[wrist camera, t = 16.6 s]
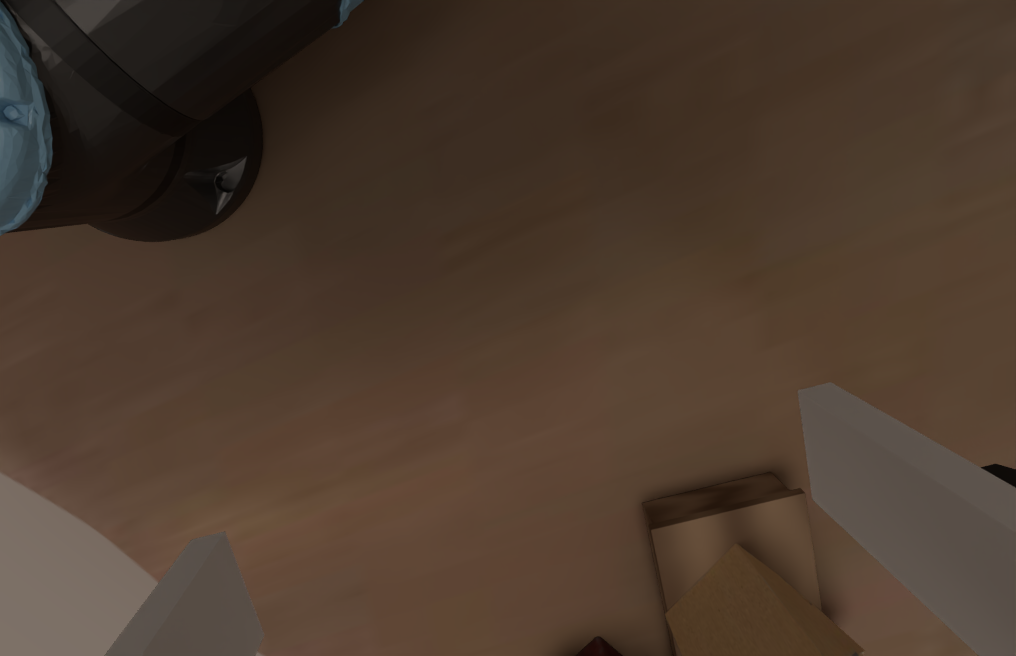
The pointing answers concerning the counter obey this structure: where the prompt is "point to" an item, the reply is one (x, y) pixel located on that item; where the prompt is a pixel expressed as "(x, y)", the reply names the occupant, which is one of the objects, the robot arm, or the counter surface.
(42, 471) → the counter surface
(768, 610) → the sandwich container
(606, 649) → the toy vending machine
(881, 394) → the counter surface
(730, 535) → the walnut stand
